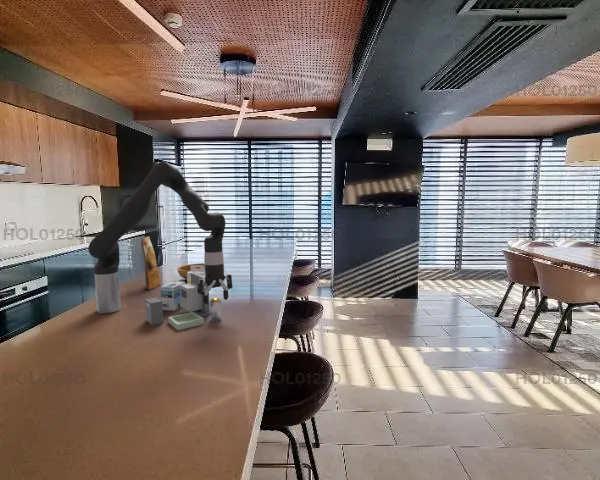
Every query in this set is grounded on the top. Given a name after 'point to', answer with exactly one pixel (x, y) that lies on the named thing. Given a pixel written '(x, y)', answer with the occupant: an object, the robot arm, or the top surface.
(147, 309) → the grey block
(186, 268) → the tan wooden bowl
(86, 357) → the top surface
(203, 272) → the ink cartridge box
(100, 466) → the top surface
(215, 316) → the cylinder
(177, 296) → the light bulb box
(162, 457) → the top surface
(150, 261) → the pancake mix bag
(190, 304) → the wall unit
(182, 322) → the parts tray
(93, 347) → the top surface
